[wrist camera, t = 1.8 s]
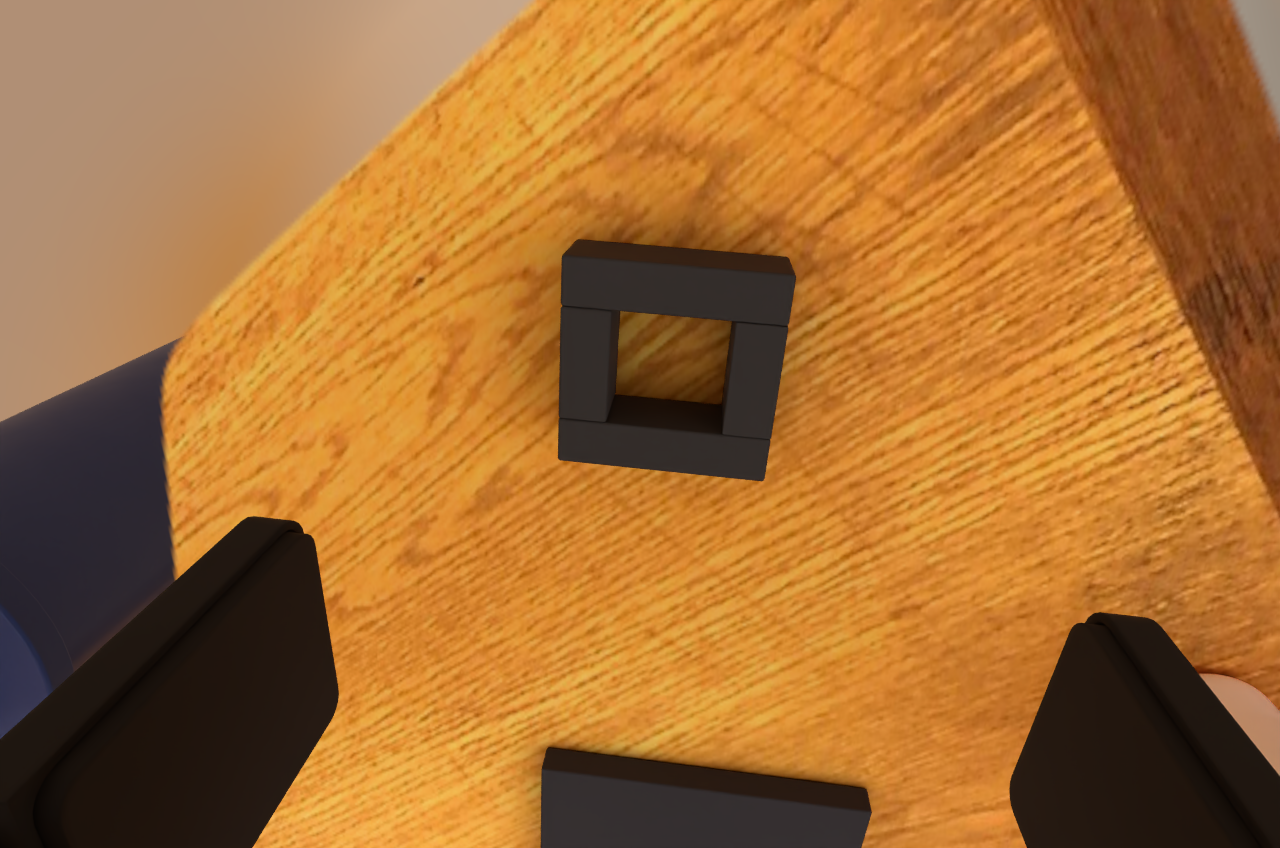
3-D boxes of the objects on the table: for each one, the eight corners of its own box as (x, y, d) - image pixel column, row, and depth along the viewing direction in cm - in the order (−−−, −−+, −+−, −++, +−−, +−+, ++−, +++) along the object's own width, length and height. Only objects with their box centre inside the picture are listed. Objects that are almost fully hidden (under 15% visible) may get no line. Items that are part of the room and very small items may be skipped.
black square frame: (571, 429, 25) (557, 460, 23) (576, 238, 23) (561, 254, 21) (760, 448, 25) (764, 482, 23) (789, 256, 22) (796, 275, 20)
